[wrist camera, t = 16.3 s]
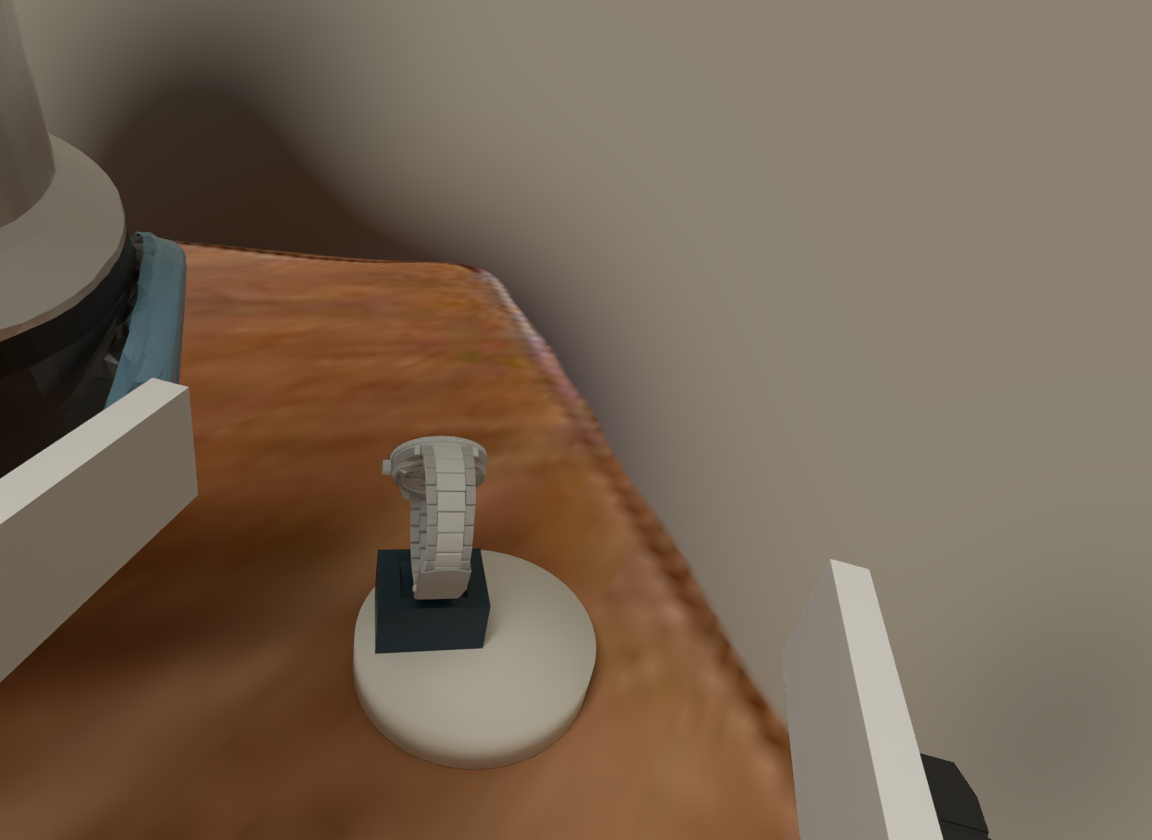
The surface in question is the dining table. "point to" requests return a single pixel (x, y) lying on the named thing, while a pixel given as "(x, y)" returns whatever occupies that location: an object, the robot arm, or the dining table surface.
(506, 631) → the display plinth
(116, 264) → the robot arm
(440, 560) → the watch
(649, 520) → the dining table surface
